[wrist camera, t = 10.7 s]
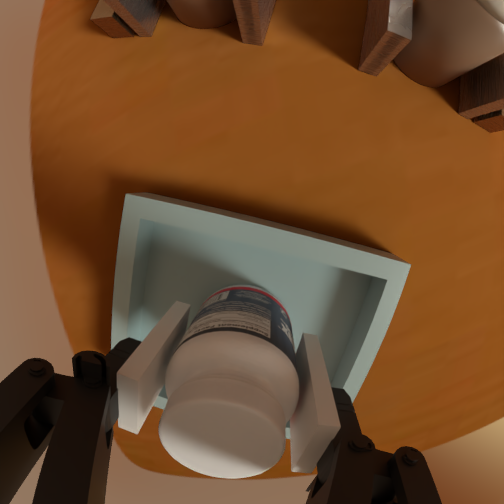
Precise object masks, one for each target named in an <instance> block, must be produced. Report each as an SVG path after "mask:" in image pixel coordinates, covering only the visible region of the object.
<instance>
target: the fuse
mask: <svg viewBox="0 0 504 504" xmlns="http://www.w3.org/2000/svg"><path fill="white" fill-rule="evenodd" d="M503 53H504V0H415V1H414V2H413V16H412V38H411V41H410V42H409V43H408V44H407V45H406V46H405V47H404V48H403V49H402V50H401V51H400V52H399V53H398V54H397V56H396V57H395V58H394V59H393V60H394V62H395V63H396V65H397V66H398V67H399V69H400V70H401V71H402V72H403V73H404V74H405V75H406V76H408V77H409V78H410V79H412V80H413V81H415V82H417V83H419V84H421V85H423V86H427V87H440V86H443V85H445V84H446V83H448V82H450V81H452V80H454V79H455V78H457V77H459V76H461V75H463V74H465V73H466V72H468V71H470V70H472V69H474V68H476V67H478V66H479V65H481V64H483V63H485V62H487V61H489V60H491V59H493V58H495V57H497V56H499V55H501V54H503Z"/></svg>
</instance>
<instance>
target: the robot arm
mask: <svg viewBox="0 0 504 504" xmlns="http://www.w3.org/2000/svg"><path fill="white" fill-rule="evenodd" d="M190 307H191V305H190V304H186V303H183V302H179V301H176V302H175V303H174V304H173V305H172V306H171V308H170V309H169V310H168V311H167V312H166V314H165V315H164V316H163V317H162V318H161V320H160V321H159V322H158V323H157V324H156V326H155V327H154V328H153V329H152V330H151V332H150V333H149V334H148V335H147V336H146V338H145V339H144V340H143V341H139V340H136V339H133V338H130V337H128V338H126V339H123V340H121V341H119V342H118V343H117V344H116V345H115V346H114V348H113V349H112V350H111V351H110V352H109V354H107V355H106V356H104V355H103V354H101V353H98V352H96V351H81V352H79V353H77V354H75V355H74V356H73V358H72V363H73V373H74V377H71V376H65V375H61V374H57V373H54V368H53V366H52V364H51V363H49V362H48V361H47V360H44V359H41V358H32V359H28V360H26V361H24V362H23V363H22V364H21V365H20V366H18V367H17V368H16V369H15V370H14V371H13V372H12V373H11V374H10V375H8V376H7V377H6V378H5V379H4V380H3V381H2V382H1V383H0V504H9V503H10V502H11V500H12V498H13V497H14V495H15V494H16V492H17V491H18V489H19V488H20V486H21V485H22V483H23V481H24V480H25V479H26V477H27V476H28V474H29V473H30V471H31V469H32V468H33V467H34V465H35V464H36V462H37V461H38V459H39V458H40V456H41V455H42V454H43V452H44V451H45V449H46V448H47V446H48V449H47V452H46V455H45V458H44V461H43V465H42V468H41V472H40V475H39V479H38V483H37V487H36V490H35V494H34V499H33V503H32V504H105V494H106V485H107V475H108V468H109V460H110V453H111V446H112V440H113V425H114V424H115V422H116V420H117V419H118V425H119V427H120V428H123V429H125V430H127V431H130V432H133V433H135V434H138V432H139V430H140V429H141V427H142V425H143V423H144V421H145V419H146V417H147V415H148V414H149V412H150V410H151V408H152V406H153V404H154V403H155V401H156V399H157V397H158V395H159V393H160V391H161V390H162V388H163V386H164V384H165V375H166V370H167V367H168V364H169V362H170V360H171V358H172V355H173V354H174V352H175V350H176V349H177V347H178V345H179V343H180V342H181V340H182V338H183V336H184V335H185V333H186V330H187V324H188V318H189V312H190ZM296 362H297V370H298V378H299V400H298V404H297V407H296V409H295V412H294V413H293V415H292V417H291V418H290V438H291V468H292V471H293V472H303V473H312V471H313V470H314V468H315V467H316V465H317V471H318V474H317V476H316V477H315V479H314V480H313V481H312V483H311V484H310V485H309V487H308V488H307V490H306V491H309V490H310V493H309V496H308V499H307V502H306V504H442V503H441V500H440V497H439V494H438V491H437V489H436V486H435V483H434V481H433V478H432V475H431V473H430V470H429V468H428V465H427V462H426V460H425V458H424V456H423V455H422V453H421V452H419V451H418V450H417V449H415V448H412V447H407V446H405V447H400V448H399V449H397V450H396V452H395V453H394V454H392V453H388V452H384V451H380V450H377V449H375V445H374V443H373V442H372V440H371V439H369V438H368V437H367V436H365V435H362V433H361V429H360V426H359V423H358V420H357V416H356V413H355V410H354V407H353V404H352V401H351V397H350V396H349V395H348V393H347V392H346V391H345V390H344V389H341V388H334V387H331V385H330V381H329V377H328V373H327V369H326V365H325V361H324V358H323V354H322V350H321V346H320V343H319V339H318V335H313V334H308V333H303V334H302V337H301V340H300V343H299V346H298V349H297V351H296Z"/></svg>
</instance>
